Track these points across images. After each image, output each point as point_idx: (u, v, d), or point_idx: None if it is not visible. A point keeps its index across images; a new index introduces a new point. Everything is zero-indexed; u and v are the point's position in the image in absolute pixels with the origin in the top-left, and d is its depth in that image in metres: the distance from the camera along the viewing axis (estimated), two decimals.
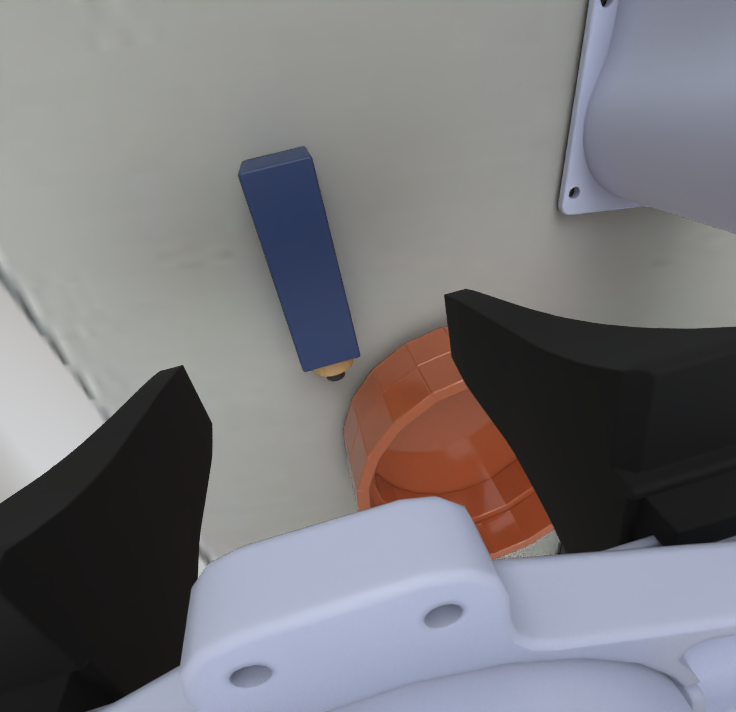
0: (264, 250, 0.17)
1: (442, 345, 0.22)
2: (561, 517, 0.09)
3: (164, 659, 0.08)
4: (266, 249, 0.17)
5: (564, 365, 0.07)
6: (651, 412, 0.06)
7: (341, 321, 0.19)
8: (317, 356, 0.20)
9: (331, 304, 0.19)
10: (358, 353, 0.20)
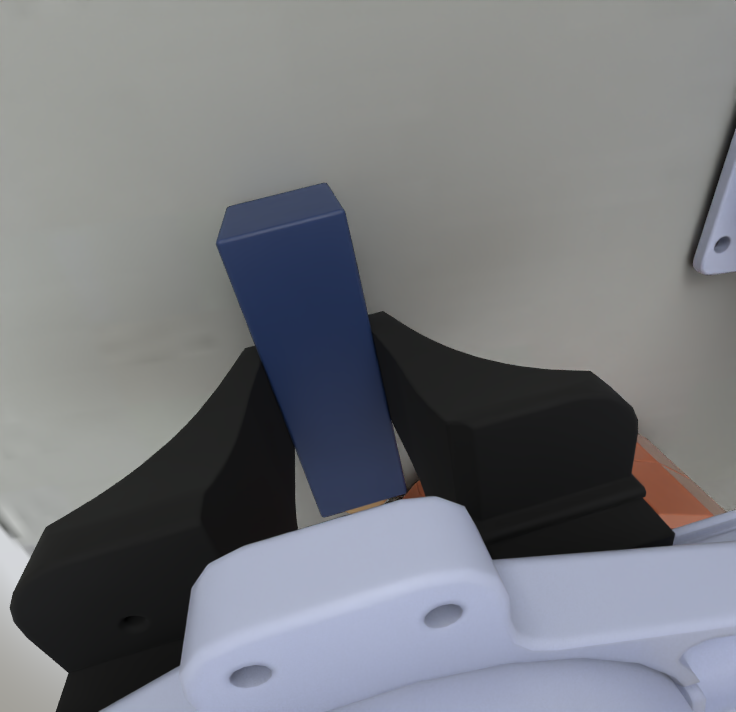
0: (262, 359, 0.10)
1: None
2: None
3: None
4: (266, 357, 0.10)
5: (423, 405, 0.07)
6: (478, 464, 0.06)
7: (381, 451, 0.12)
8: (343, 497, 0.13)
9: (367, 429, 0.12)
10: (404, 489, 0.13)
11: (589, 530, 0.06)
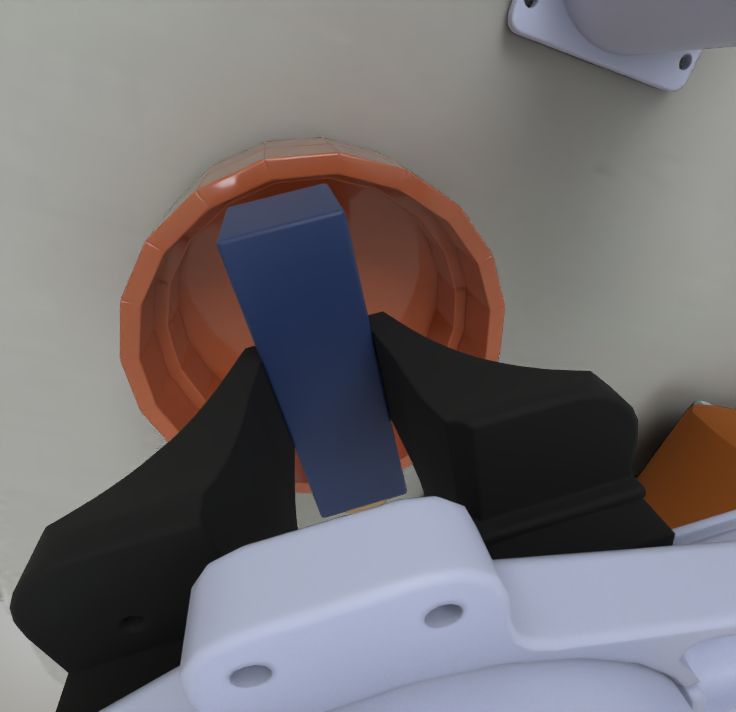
0: (262, 359, 0.10)
1: (311, 142, 0.15)
2: None
3: None
4: (265, 357, 0.10)
5: (423, 405, 0.07)
6: (478, 463, 0.06)
7: (381, 451, 0.12)
8: (343, 497, 0.13)
9: (367, 429, 0.12)
10: (404, 489, 0.13)
11: (589, 530, 0.06)
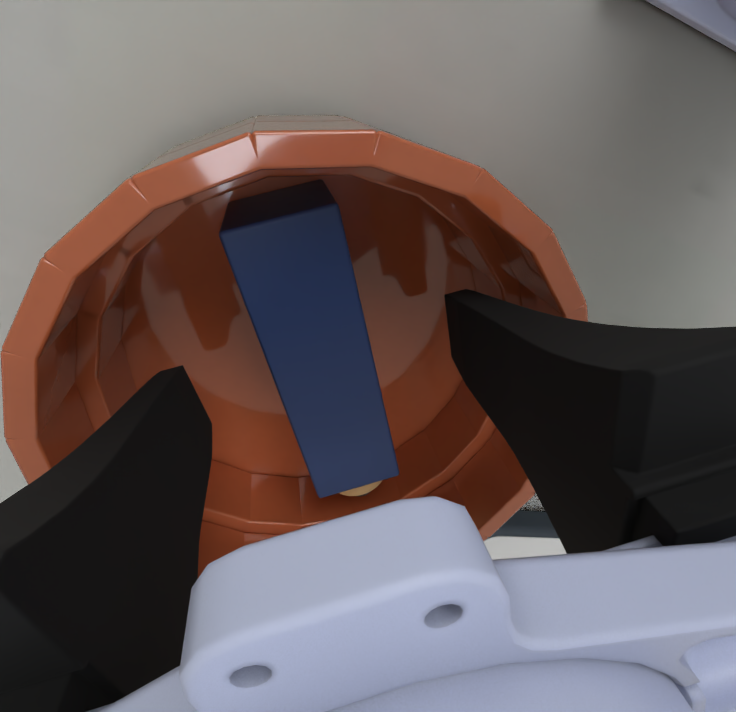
0: (262, 344, 0.11)
1: (326, 118, 0.10)
2: (561, 517, 0.09)
3: (164, 659, 0.08)
4: (265, 342, 0.11)
5: (564, 365, 0.07)
6: (651, 412, 0.06)
7: (374, 433, 0.13)
8: (339, 478, 0.14)
9: (361, 412, 0.13)
10: (397, 471, 0.14)
11: None
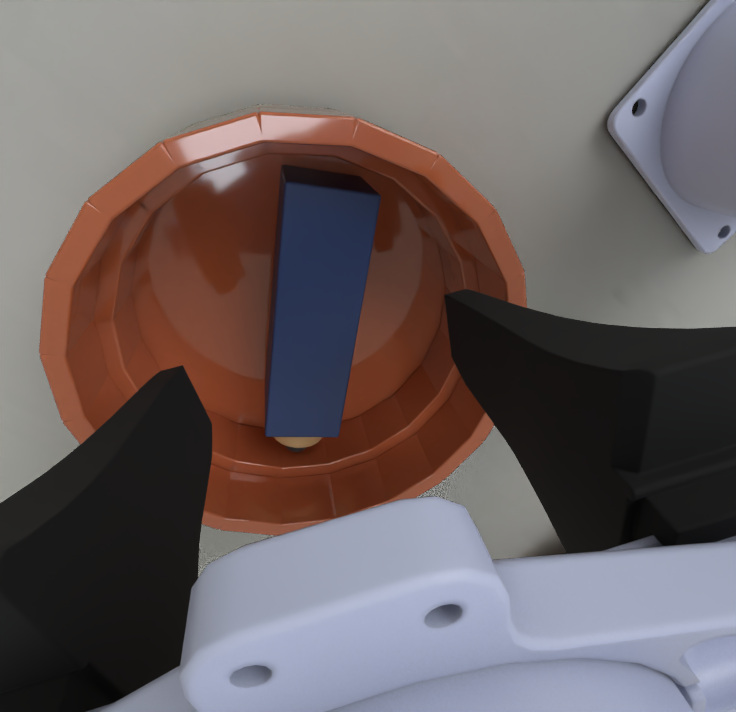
0: (278, 283, 0.13)
1: None
2: (561, 517, 0.09)
3: (164, 659, 0.08)
4: (281, 282, 0.13)
5: (564, 365, 0.07)
6: (650, 412, 0.06)
7: (333, 392, 0.15)
8: (289, 423, 0.16)
9: (330, 370, 0.15)
10: (338, 433, 0.16)
11: None
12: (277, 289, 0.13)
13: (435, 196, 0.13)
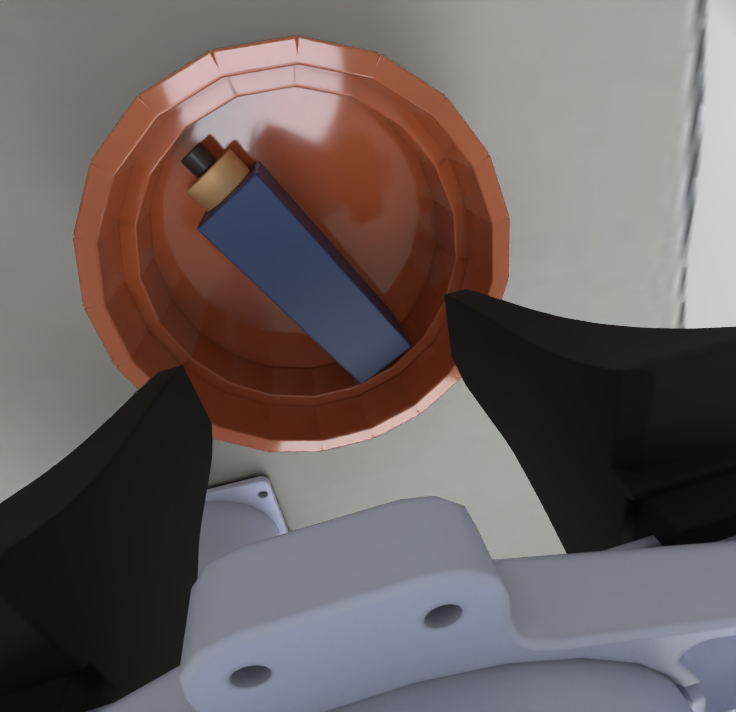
0: (368, 299, 0.17)
1: None
2: (561, 517, 0.09)
3: (164, 659, 0.08)
4: (366, 301, 0.17)
5: (564, 365, 0.07)
6: (650, 412, 0.06)
7: (251, 264, 0.15)
8: (252, 205, 0.14)
9: (275, 278, 0.16)
10: (202, 232, 0.14)
11: None
12: (365, 295, 0.17)
13: (327, 401, 0.19)
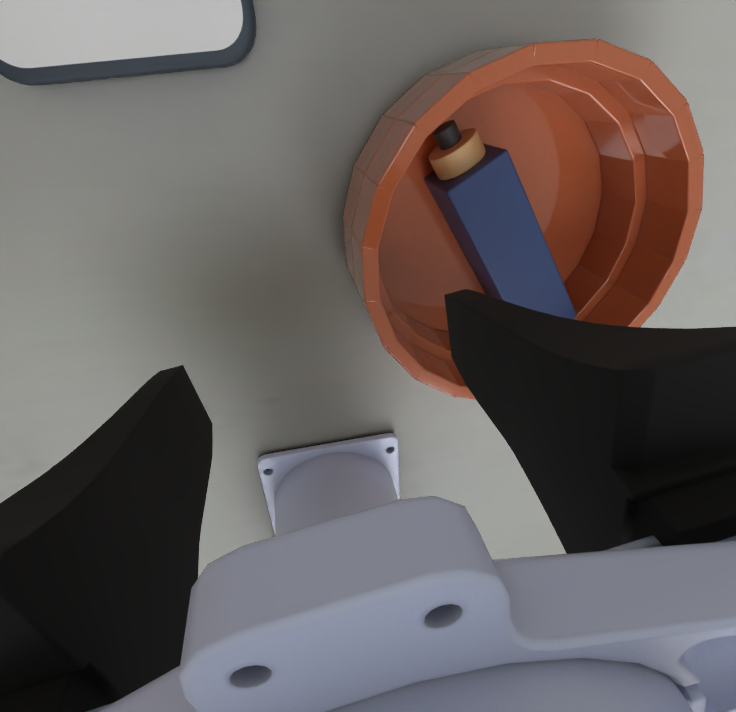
0: (557, 270, 0.19)
1: None
2: (561, 517, 0.09)
3: (164, 659, 0.08)
4: (555, 271, 0.19)
5: (564, 365, 0.07)
6: (651, 412, 0.06)
7: (478, 228, 0.18)
8: (495, 177, 0.17)
9: (492, 242, 0.18)
10: (450, 196, 0.17)
11: None
12: (555, 266, 0.19)
13: None
